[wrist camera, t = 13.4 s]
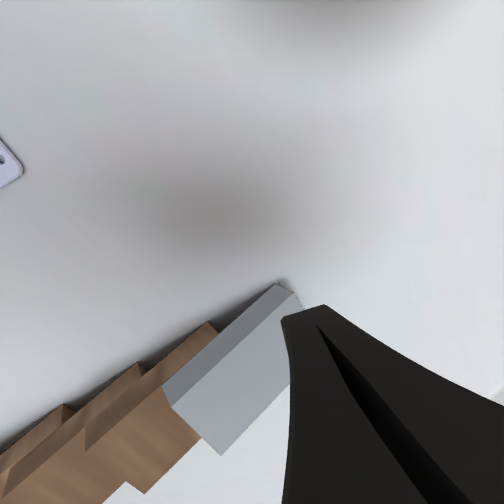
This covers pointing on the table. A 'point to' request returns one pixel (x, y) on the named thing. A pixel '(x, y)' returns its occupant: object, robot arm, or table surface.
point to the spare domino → (236, 372)
